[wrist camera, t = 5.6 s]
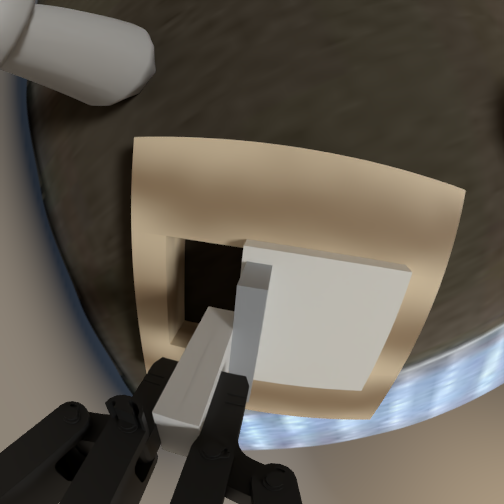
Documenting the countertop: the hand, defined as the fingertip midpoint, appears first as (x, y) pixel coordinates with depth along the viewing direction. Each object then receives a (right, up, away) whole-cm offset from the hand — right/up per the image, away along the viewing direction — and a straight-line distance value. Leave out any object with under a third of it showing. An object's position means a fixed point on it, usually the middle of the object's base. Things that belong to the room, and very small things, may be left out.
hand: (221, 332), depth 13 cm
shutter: (+5, 0, +2) cm, 5 cm away
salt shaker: (-7, +16, +1) cm, 18 cm away
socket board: (+4, +1, +5) cm, 6 cm away
